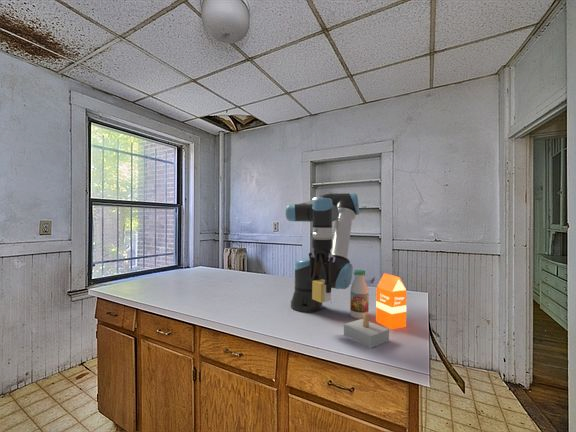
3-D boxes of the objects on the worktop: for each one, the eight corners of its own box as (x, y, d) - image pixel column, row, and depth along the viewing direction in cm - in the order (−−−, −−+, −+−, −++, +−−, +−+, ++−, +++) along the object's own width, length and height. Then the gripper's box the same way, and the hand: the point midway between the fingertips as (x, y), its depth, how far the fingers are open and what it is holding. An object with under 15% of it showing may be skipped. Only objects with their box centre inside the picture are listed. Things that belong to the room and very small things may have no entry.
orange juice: (391, 329, 107) (392, 277, 107) (375, 321, 115) (376, 273, 115) (406, 326, 110) (407, 276, 110) (390, 318, 118) (390, 272, 118)
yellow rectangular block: (312, 299, 106) (312, 281, 106) (321, 297, 109) (322, 279, 109) (320, 302, 102) (321, 283, 102) (330, 300, 105) (330, 282, 105)
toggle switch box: (343, 335, 101) (344, 311, 101) (361, 328, 107) (362, 307, 107) (370, 348, 91) (370, 322, 91) (388, 340, 97) (389, 316, 97)
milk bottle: (347, 313, 124) (348, 268, 124) (364, 312, 125) (365, 268, 125) (353, 319, 116) (354, 272, 117) (371, 319, 117) (371, 272, 117)
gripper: (300, 237, 111) (299, 294, 111) (331, 241, 96) (330, 307, 96) (314, 236, 115) (314, 291, 115) (346, 240, 100) (346, 303, 101)
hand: (321, 298), depth 106 cm, fingers closed on yellow rectangular block, 5 cm apart
